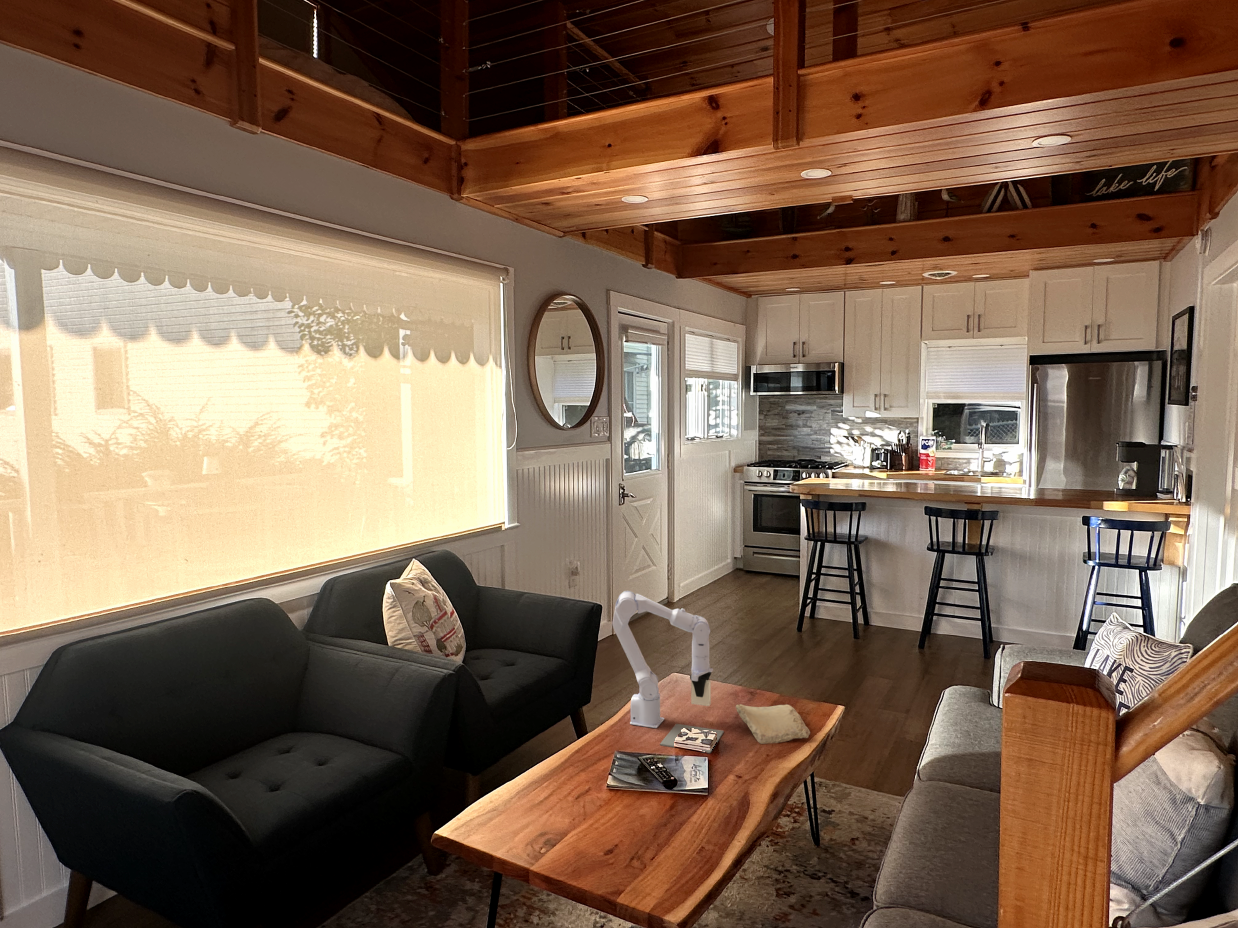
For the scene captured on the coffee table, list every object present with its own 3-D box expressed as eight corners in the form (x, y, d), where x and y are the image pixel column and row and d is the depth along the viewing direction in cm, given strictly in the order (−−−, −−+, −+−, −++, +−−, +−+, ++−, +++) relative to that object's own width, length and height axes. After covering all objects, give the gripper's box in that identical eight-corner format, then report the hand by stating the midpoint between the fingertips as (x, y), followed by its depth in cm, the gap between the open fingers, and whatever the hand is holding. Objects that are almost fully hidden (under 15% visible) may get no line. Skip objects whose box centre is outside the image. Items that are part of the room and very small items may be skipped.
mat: (660, 745, 242) (660, 743, 242) (676, 724, 257) (676, 723, 257) (710, 753, 236) (710, 751, 236) (723, 732, 251) (723, 730, 251)
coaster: (691, 703, 258) (691, 680, 258) (693, 701, 260) (693, 677, 260) (708, 706, 256) (708, 682, 255) (710, 703, 258) (710, 680, 257)
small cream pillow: (748, 748, 241) (812, 739, 242) (746, 724, 241) (809, 716, 242) (733, 718, 266) (791, 711, 266) (731, 697, 265) (789, 690, 266)
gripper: (706, 663, 249) (706, 704, 250) (718, 649, 262) (718, 688, 263) (685, 660, 251) (685, 701, 252) (698, 647, 265) (698, 686, 266)
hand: (700, 694), depth 258 cm, fingers closed on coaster, 2 cm apart
